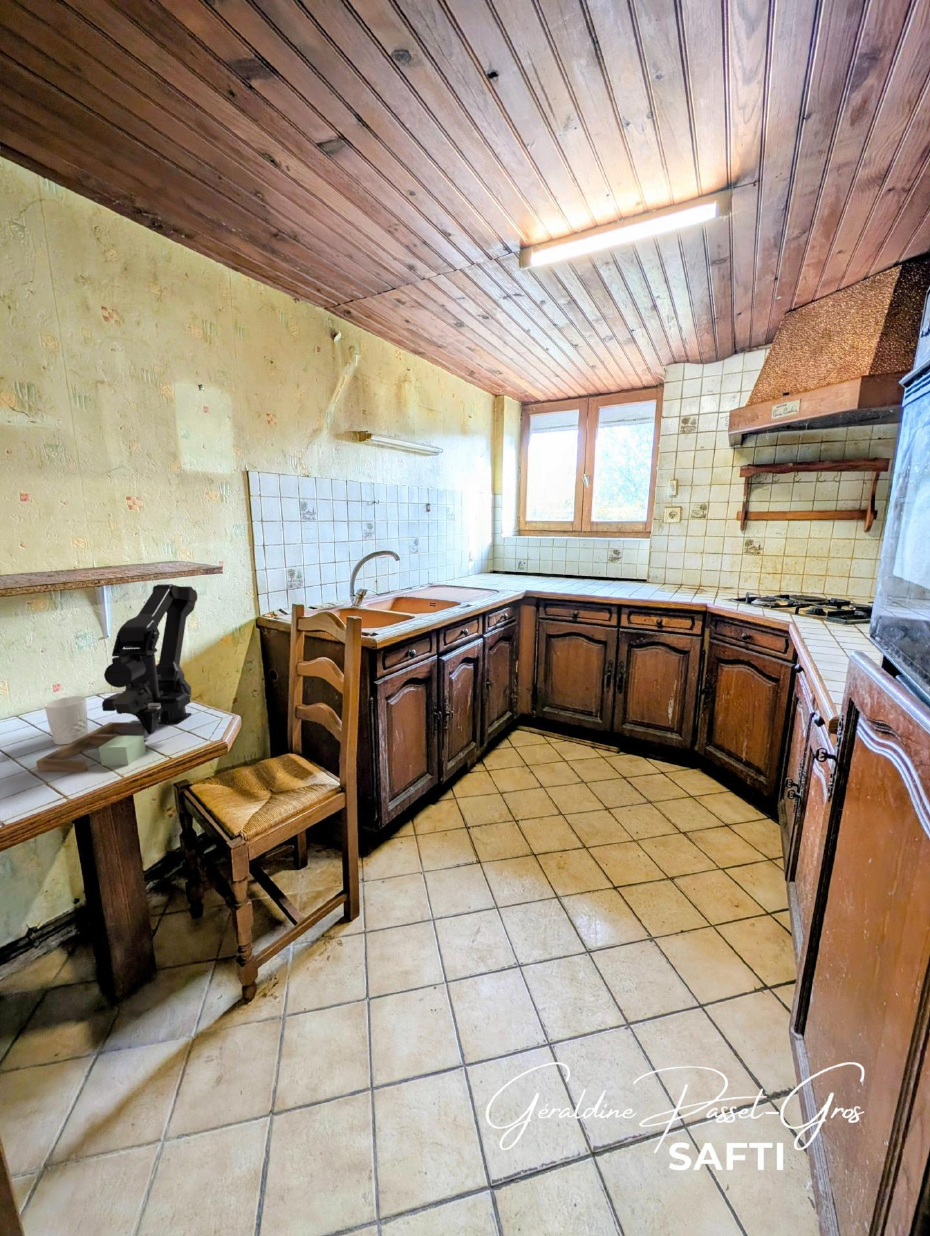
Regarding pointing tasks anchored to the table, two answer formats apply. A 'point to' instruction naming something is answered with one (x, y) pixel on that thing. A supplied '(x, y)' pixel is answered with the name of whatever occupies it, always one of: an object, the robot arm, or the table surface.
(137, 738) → the sage green block
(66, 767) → the walnut slot rack
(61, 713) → the white cup
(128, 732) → the slate grey cube
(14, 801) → the table surface
